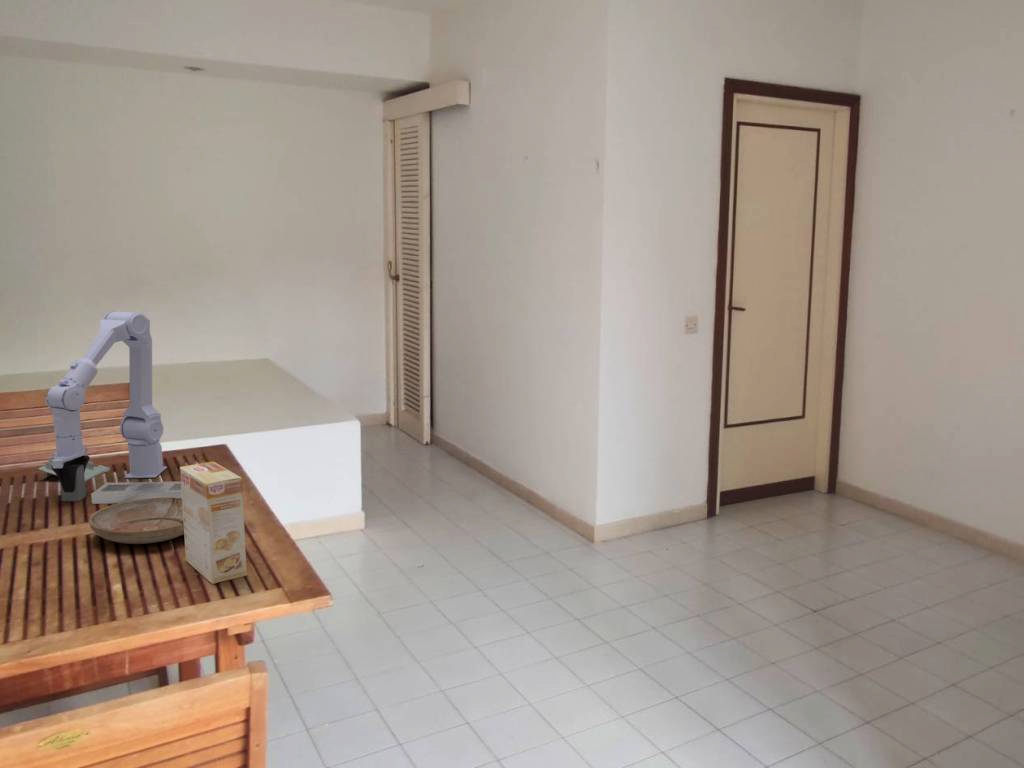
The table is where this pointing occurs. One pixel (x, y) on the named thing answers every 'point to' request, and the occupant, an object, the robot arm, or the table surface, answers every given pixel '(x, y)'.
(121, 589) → the table surface
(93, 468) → the metal bracket
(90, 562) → the table surface
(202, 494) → the coffeecake box
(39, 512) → the table surface
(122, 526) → the ceramic bowl
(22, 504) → the table surface
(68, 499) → the square peg
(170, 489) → the hole rail
